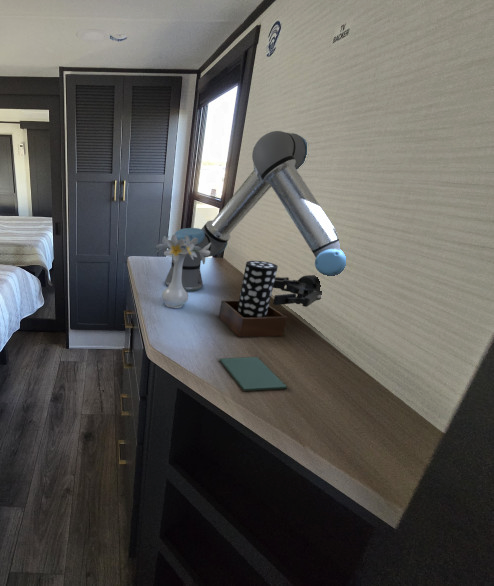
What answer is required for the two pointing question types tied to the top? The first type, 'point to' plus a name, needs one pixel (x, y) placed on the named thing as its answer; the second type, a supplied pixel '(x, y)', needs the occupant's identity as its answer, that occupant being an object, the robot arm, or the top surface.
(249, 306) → the white-spotted black cylinder
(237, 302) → the crate
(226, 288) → the top surface
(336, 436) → the top surface
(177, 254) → the flower vase
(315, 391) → the top surface
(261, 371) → the mat
